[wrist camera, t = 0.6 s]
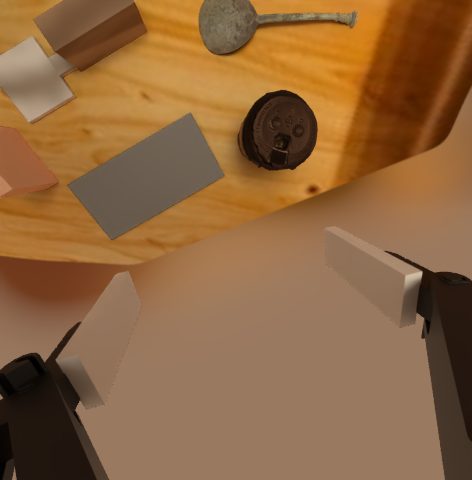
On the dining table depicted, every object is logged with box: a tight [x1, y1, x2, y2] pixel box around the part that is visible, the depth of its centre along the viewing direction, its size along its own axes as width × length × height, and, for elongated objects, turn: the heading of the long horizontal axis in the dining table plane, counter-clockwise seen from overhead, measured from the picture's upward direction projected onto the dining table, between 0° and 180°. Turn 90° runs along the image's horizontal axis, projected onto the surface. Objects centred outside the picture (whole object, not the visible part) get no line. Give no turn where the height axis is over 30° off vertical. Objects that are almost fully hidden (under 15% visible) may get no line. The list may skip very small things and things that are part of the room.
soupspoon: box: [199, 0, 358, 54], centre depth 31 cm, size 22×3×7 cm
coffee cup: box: [238, 90, 318, 171], centre depth 30 cm, size 9×8×13 cm
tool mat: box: [67, 112, 224, 240], centre depth 36 cm, size 10×21×1 cm, turn 118°
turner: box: [0, 0, 147, 123], centre depth 27 cm, size 7×20×6 cm, turn 118°
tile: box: [0, 126, 59, 198], centre depth 29 cm, size 8×2×9 cm, turn 28°
